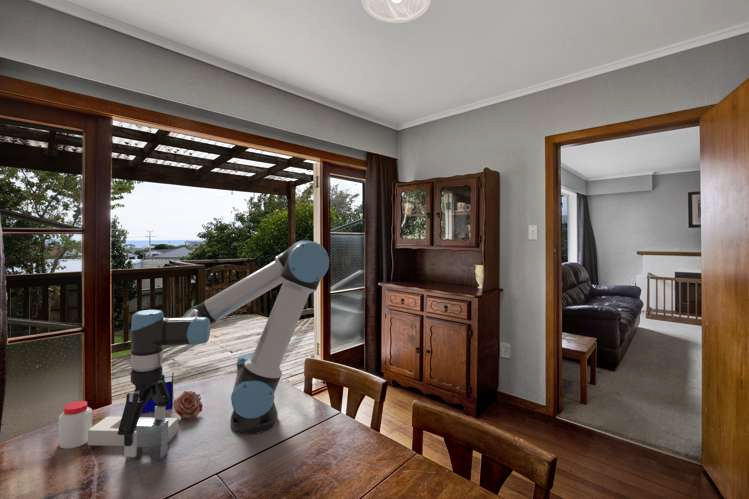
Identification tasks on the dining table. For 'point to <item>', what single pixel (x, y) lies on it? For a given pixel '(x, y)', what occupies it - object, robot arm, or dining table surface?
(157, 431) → the gray rectangular block
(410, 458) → the dining table surface
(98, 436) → the block with rectangular holes
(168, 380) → the puzzle cube
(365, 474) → the dining table surface
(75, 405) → the pill bottle
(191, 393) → the flower
